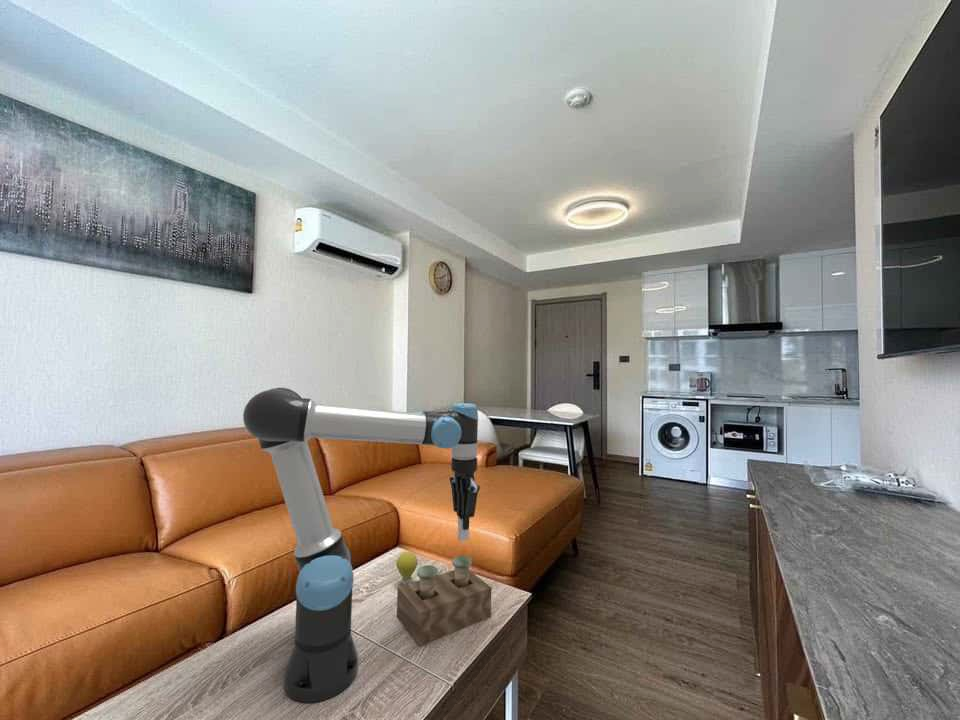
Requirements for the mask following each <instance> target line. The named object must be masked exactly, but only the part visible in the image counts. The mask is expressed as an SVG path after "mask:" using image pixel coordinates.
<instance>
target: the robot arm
mask: <svg viewBox="0 0 960 720" xmlns="http://www.w3.org/2000/svg"><path fill="white" fill-rule="evenodd" d="M478 412H479V410H478V406H477V405H476V404H474V403H470V402H469V403H466V402H465V403H462V402H461V403H453V405H452V406H451V410H445V411H444V410H443V411H442V410H439V411H438V410H437V411H436V410H435V411H434V410H432V411H431V410H430V411H426V410H422V411H414V412H406V411H404V412H403V411H394V410H384V409H383V410H382V409H376V408H375V409H372V408H364V407H363V408H362V407H350V406H344V405H343V406H340V405H332V404H331V405H330V404H320V403H319V404H318V403H316V401H315V400H313V399H312V398H305V397H302V396H300V394H298V392H296V391H294V390H292V389H290V388H285V387H276V388H275V387H274V388H271V389H268V390H264V391H261V392H258V393H257V394H255V395H254V396H253V397H251V398H250V400H248V402H247V404H245V407H244V409H243V415H242V417H243V418H242V419H243V424H244V426H245V427H244V428H246V430H247V431H248V433H250V435H252V436H253V437H255V438H256V439H257V440H258V443H259V446H260V449H261V450H262V451H264V452H266V453H269V454H270V457H271V460H272V463H273V467H274V470H275V473H276V477H277V480H278V484H279V486H280V489H281V493H282V496H283V499H284V502H285V504H286V505H285V506H286V510H287V512H288V515H289V518H290V521H291V525H292V528H293V531H294V534H295V535H294V536H295V538H296V540H297V541H296V542H297V545H296V546H295V549H294V551H293V555H294V558H295V561H296V565H297V567H298V571H299V573H298V575H297V580H296V584H295V593H296V603H295V604H296V605H295V624H294V625H295V630H294V644H293V647H292V648H293V649H292V650H291V653H290V656H289V659H288V662H287V664H286V667H285V672H284V675H283V676H284V678H283V687H284V688H283V689H284V692H285V693H286V696H288V697H289V698H290V699H292V700H294V701H297V702H300V703H317V702H321V701H325V700H328V699H330V698H333V697H335V696H336V695H338V694H340V693H341V692H342V691H344V690H345V689H347V688H348V687H349V686H350V685H351V684H352V683H353V681H354V679H355V677H356V676H357V674H358V669H359V668H358V667H359V656H358V652H357V651H358V650H357V648H356V645H355V642H354V639H353V636H352V615H353V614H352V609H353V585H354V572H353V571H354V570H353V566H352V563H351V553H350V550H349V548H348V547H347V545H346V543H345V540H344V538H343V537H344V536H343V534H342V532H341V530H339V529H337V528H334V526H333V523H332V520H331V516H330V512H329V509H328V507H327V503H326V500H325V496H324V493H323V490H322V487H321V483H320V480H319V477H318V476H319V475H318V474H317V471H316V467H315V464H314V460H313V457H312V454H311V450H310V447H309V444H308V441H309V440H310V439H312V438H313V439H325V440H327V439H328V440H329V439H330V440H346V441H361V442H378V443H391V444H392V443H396V444H410V445H423V446H436V447H437V448H440V449H444V450H447V449H451V457H452V458H451V462H450V463H451V464H450V465H451V466H450V467H451V471H452V472H453V473H454V475H453V476H451V477H449V483H450V486H451V487H450V488H451V496H452V507H453V508H452V509H453V511H454V512H455V513H456V516H457V527H458V528H457V540H458V541H459V542H465V541H468V540H469V538H470V536H469V535H470V518H473V517H475V512H476V506H477V500H478V495H479V491H480V489H481V487H480V485H479V484H477V485H476V482H475V472H477V471H478V458H477V456H478V432H479V430H478V427H479V413H478Z"/></svg>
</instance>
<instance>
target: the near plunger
mask: <svg viewBox="0 0 960 720" xmlns="http://www.w3.org/2000/svg"><path fill="white" fill-rule="evenodd" d="M437 575H439V569H438V568H437V567H436V566H434V565H430V564H429V565H422V566H420V567H418V568H416V576H417V577H418V578H419V580H420V591H419V597H420V598H421V599H422V600H425V599H428V598H431V597H434V586H435V576H437Z"/></svg>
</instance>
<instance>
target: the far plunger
mask: <svg viewBox="0 0 960 720" xmlns="http://www.w3.org/2000/svg"><path fill="white" fill-rule="evenodd" d="M451 561H452V562H451V564H452V566H453V567H454V570H455V584H454V585H455V586H457V587H458V588H461V587H464V586H467V585H468V583H469V570H470V567H471V566H472V564H473V563H472V561H473V560H472V558H471V557H469V556H467V555H459V556H458V555H457V556H454V557H453V558H452V560H451Z"/></svg>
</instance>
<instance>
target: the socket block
mask: <svg viewBox="0 0 960 720" xmlns="http://www.w3.org/2000/svg"><path fill="white" fill-rule="evenodd" d="M454 584H455V569H452V570H450V571H446V572H443V573H440V574H439V573H438V574H437V576H435V586H434V597H431V598H428V599H425V600H422V599H421V598H420V597H419V591H420V579H419V580H417V581H413V582H410V583H409V584H406V585H403V584H402V585H400V586H398V587H397V593H396V594H397V595H396V597H397V601H396V618H397V619H398V620H399V622H400V624H401V625H403V627H404V629H405V631H407V632H408V634H409V635H410V636H411V638H412V639H413V640H414V642H415V643H416V645H417V646H418V647H420V646H422V645H426V644H427V643H429V642H432V641H434V640H437V639H439V638H443V637H444V636H447V635H449V634H451V633H452V634H453V633H454V632H457V631H459V630H461V629H462V630H463V629H464V628H467V627H469V626H472V625H474V624H477V623H479V622H482V621H483V620H484V621H485V620H486V619H489V618H492V587H491V586H490V585H489V584H488V583H486V582H485V581H484V580H483V579H481V578H480V577H479V576H478V575H476V574H475V573H474V572H473V571H472V570H470V569H469V583H468V585H467V586H464V587H461V588H458V587H457V586H455V585H454Z"/></svg>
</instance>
